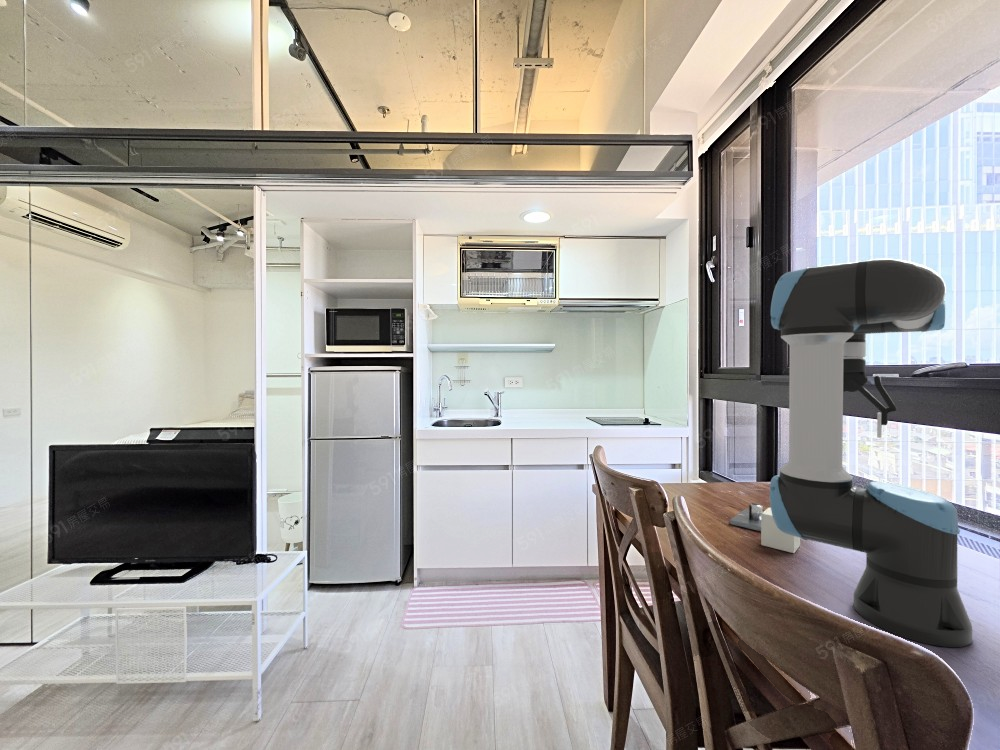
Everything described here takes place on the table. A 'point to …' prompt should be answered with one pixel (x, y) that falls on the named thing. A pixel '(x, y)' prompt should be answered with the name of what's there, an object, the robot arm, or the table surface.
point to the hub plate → (749, 517)
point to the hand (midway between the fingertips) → (846, 434)
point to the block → (776, 535)
